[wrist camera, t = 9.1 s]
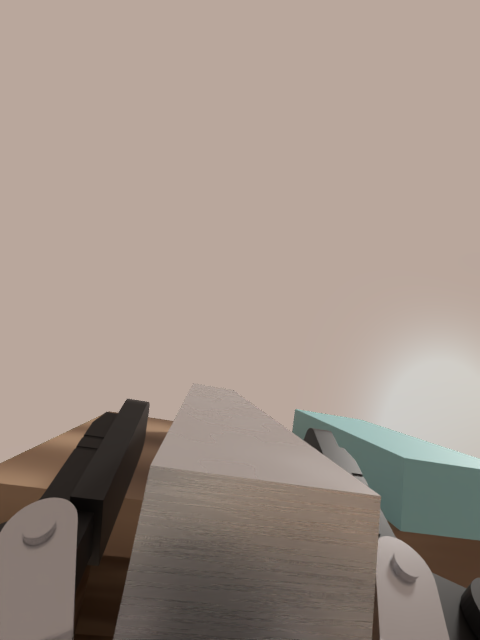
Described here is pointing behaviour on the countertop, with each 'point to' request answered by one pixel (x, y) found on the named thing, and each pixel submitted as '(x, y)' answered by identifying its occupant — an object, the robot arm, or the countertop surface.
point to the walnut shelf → (110, 576)
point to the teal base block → (408, 475)
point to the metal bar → (248, 534)
